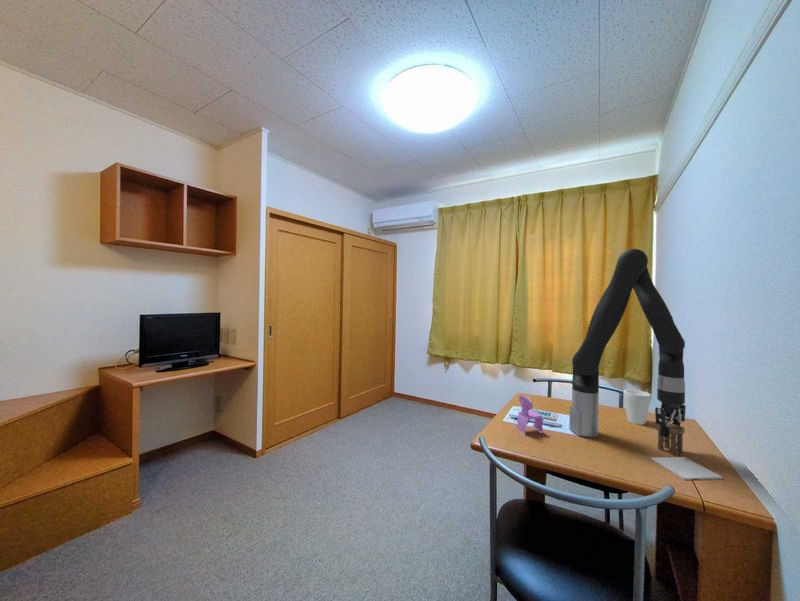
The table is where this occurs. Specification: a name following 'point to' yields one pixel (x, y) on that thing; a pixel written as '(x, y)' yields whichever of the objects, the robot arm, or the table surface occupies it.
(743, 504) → the table surface
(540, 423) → the toy chair
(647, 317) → the robot arm
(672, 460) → the mat
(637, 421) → the foam cup
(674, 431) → the stool
